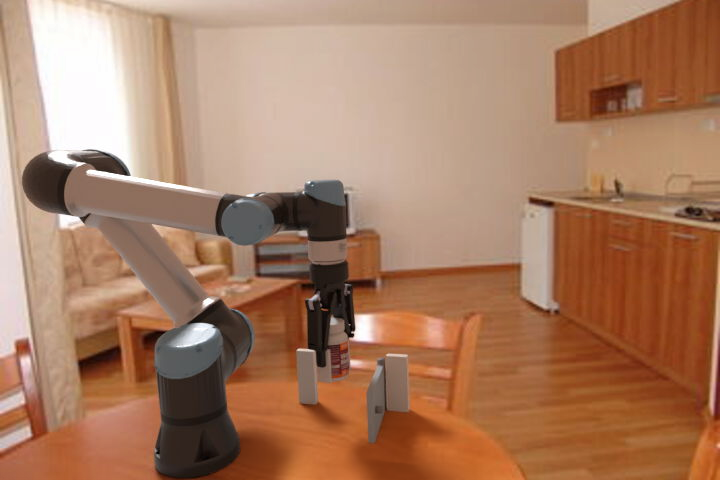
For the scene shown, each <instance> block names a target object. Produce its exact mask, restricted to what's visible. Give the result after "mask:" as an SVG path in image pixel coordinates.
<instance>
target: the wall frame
mask: <svg viewBox="0 0 720 480" xmlns="http://www.w3.org/2000/svg"><path fill="white" fill-rule="evenodd" d="M295 354H296V355H295V356H296V369H297V371H296V373H297V390H298V402H299V403H298V404H306V405H317V404H318V403H319V389H318V369H317V364H316V351H315V350H309V349H308V348H297V350H295ZM385 362H386V390H387V411H388V412H389V411H391V412H399V413H400V412H401V413H409V412H410V409H411V408H410V407H411V406H410V380H409V375H410V374H409V372H410V371H409V355H408V354H403V353H386V355H385Z"/></svg>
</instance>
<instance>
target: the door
mask: <svg viewBox="0 0 720 480" xmlns="http://www.w3.org/2000/svg"><path fill="white" fill-rule="evenodd" d="M365 394H366V416H367V419H366V420H367V437H368V438H367V439H368V440H367V441H368V444H375V443H376V440H377V437H378V433H379V432H380V427H381V426H382V421H383V419H384V415H385V412H386V411H387V410H388V406H387V378H386V357H377V358H376V369H375V371H374V374H373V376H372V378H371V380H370V383H369V386H368V388H367V390H366V393H365Z"/></svg>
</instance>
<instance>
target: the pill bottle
mask: <svg viewBox="0 0 720 480" xmlns="http://www.w3.org/2000/svg"><path fill="white" fill-rule="evenodd" d="M344 330H345V326H344V320H343V319H341V318H334V317H331V322H330V330H329V338H328V347H327V349H330V355H331V373H332V382H340V381H343V380H345V379H347V378H348V377H349V376H350V370H349V354H348V336H347V334H346V333H345V332H344Z"/></svg>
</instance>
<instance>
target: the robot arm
mask: <svg viewBox="0 0 720 480" xmlns="http://www.w3.org/2000/svg"><path fill="white" fill-rule="evenodd" d="M21 185H22V190H23V193H24V195H25V196H26V198H27V199H28V200H29V202H30V203H31V204H32V205H33V206H35V207H36V208H37V209H39V210H42V211H44V212H46V213H50V214H57V215H62V216H63V215H64V216H70V217H71V216H72V217H76V218H78V219H80V221H81V222H82V224H84V226H85V227H86V228H90V229H97V230H99V232H100V233H101V234H102V235H103V237H104V238H105V239H106V240H107V242H108V243H109V244H110V245H111V246H112V248H113V249H114V251H116V253H117V254H118V255H119V256H120V257H121V259H122V260H123V261H124V263H125V264H126V265H127V266H128V268H129V269H130V270H131V272H133V274H134V275H135V277H137V278H138V280H139V282H141V284H142V285H143V286H144V287H145V289H146V290H147V291H148V292H149V294H150V295H151V296H152V297H153V298H154V299H155V301H156V302H157V304H158V305H159V307H161V309H162V310H163V311H164V312H165V313H166V315H167V316H168V317H169V318H170V320H171V321H172V322H173V328H171V329H169V330H166V332H165V333H163V334H162V335H160V337H158V339H157V340H156V342H155V345H154V359H153V362H154V363H153V365H154V368H155V375H156V386H157V394H158V404H159V411H160V412H159V413H160V414H159V415H160V425H159V429H158V430H159V431H158V434H157V438H156V443H155V446H154V451H153V458H154V466H155V469H156V470H157V471H158V472H159V473H161V474H162V475H164V476H167V477H170V478H175V479H177V478H178V479H180V478H181V479H188V478H189V479H190V478H197V477H202V476H206V475H210V474H213V473H215V472H219V471H221V470H222V469H225V468H226V467H228V466H229V465H231V464H232V463H233V462H234V461H235V460H236V459H237V458H238V456H240V452H241V442H240V441H241V440H240V435H239V433H238V431H237V429H236V427H235V425H234V422H233V419H232V417H231V415H230V412H229V410H228V400H227V399H228V398H227V388H226V386H227V385H226V381H227V379H229V378H230V376H232V375H233V374H234V372H235V371H237V369H238V368H239V367H240V366H242V365H243V364H244V363H245V362H246V360H248V359H249V356H250V354H251V352H252V351H253V349H254V345H255V339H256V334H255V329H254V326H253V323H252V321H251V320H250V319H249V317H248V316H247V315H246V314H245V313H243V312H242V311H240V310H238V309H233V308H230V307H228V305H227V304H226V303H225V302H224V300H223V299H222V298H221V297H219V296H213V295H209V294H208V292H207V291H206V290H205V289H204V287H203V286H202V285H201V284H200V283H199V281H198V280H197V278H195V276H194V275H193V274H192V273H191V272H190V270H189V269H188V267H187V266H186V265H185V264H184V263H183V261H182V260H181V259H180V258H179V257H178V255H177V254H176V252H175V251H174V250H173V249H172V248H171V246H170V245H169V243H168V242H167V241H166V240H165V239H164V238H163V237H162V235H161V234H160V233H159V231H158V230H157V229H156V228H155V226H161V227H165V228H166V227H167V228H171V229H177V230H182V231H189V232H195V233H201V234H205V235H212V236H218V237H221V238H227V239H228V240H229V241H230V242H231V243H233V244H235V245H238V246H253V245H257V244H261V243H262V242H263V241H265V240H267V239H268V238H270V237H272V236H274V235H275V234H277V233H280V232H303V231H304V232H305V231H306V234H307V254H308V255H307V257H308V260H309V261H311V262H310V263H309V264H308V268H309V280H310V282H311V283H313V284H314V285H315V286H314V293H313V296H312V297H311V298H305V300H304V303H305V308H306V319H307V320H306V321H307V322H306V325H307V326H306V327H307V329H306V330H307V334H306V335H307V336H306V337H307V349H309V350H315V351H316V369H317V382H321V383H326V384H331V383H333V381H332V373H331V355H330V349H327V347H328V338H329V330H330V322H331V318H341V319H343V320H344V326H345V330H344V332H345V333H346V334H347V336H348V354H349V371H351V369H352V367H351V351H350V350H351V347H350V339H354V337H355V333H354V332H356V319H355V308H354V306H355V305H354V298H353V297H354V296H353V295H354V285H353V284H350V283H349V284H348V283H345V282H346V281H348V280H349V277H350V273H349V270H350V269H349V261H347V260H346V259H347V258H348V254H349V253H348V247H349V246H348V242H347V241H348V240H347V238H348V234H347V211H346V209H347V207H346V205H347V202H346V198H345V189H344V188H345V187H344V184H343V182H342V181H341V180H339V179H321V180H320V179H316V180H307V181H305V183H304V188H303V190H301V191H295V192H293V191H289V192H288V191H286V192H284V191H282V192H278V191H277V192H266V191H264V192H262V191H261V192H256V193H248V194H246V195H239V194H235V193H234V194H233V193H227V192H224V191H223V192H221V191H215V190H209V189H204V188H199V187H193V186H187V185H181V184H177V183H176V184H174V183H169V182H163V181H158V180H151V179H146V178H140V177H133V176H132V175H131V172H130V169H129V168H128V167H127V164H125V162H124V161H123V160H122V159H120V158H119V157H118V156H117V155H115V154H113V153H111V152H109V151H108V152H107V151H103V150H99V149H91V148H89V149H83V150H72V149H71V150H70V149H67V150H63V149H62V150H61V149H55V150H54V149H53V150H52V149H51V150H46V151H44V152H41V153H39V154H37V155H35V156H34V157H33V158H31V159H30V160H29V161H28V163H26V165H25V167H24V169H23V172H22V174H21ZM153 225H155V226H153ZM332 316H333V317H332Z"/></svg>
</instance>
